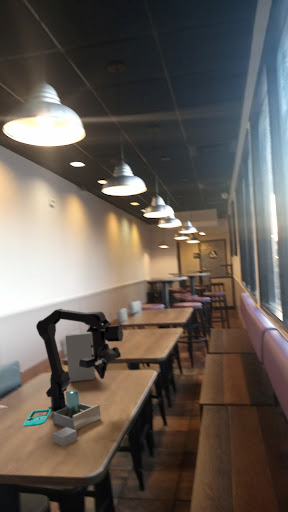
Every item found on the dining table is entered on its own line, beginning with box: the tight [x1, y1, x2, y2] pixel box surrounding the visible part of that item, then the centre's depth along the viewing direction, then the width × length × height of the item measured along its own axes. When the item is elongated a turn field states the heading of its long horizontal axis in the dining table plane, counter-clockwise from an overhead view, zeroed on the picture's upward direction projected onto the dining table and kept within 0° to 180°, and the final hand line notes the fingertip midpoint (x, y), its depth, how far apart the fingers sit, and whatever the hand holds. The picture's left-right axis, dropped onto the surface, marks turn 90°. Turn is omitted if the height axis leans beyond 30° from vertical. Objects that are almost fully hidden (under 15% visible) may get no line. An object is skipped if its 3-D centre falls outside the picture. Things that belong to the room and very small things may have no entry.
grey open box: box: [52, 402, 94, 430], centre depth 148 cm, size 13×13×4 cm
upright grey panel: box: [65, 331, 96, 383], centre depth 203 cm, size 14×6×25 cm, turn 94°
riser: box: [52, 427, 78, 447], centre depth 131 cm, size 6×6×3 cm
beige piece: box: [61, 404, 102, 431], centre depth 147 cm, size 13×13×5 cm
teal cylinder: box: [65, 389, 80, 418], centre depth 149 cm, size 5×5×10 cm
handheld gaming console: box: [23, 408, 52, 427], centre depth 155 cm, size 8×1×15 cm
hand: (102, 378), depth 157 cm, fingers closed
